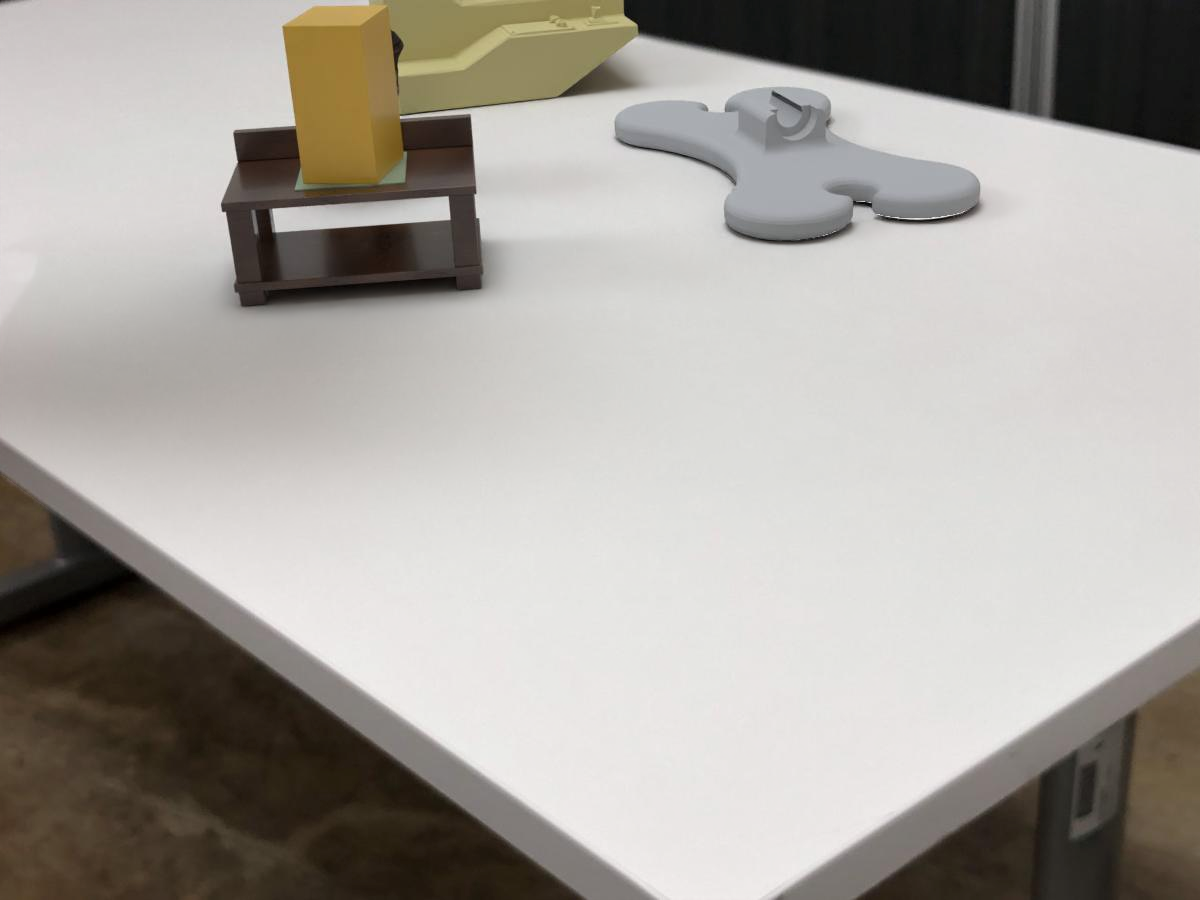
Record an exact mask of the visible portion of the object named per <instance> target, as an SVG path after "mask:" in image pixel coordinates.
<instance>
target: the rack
mask: <svg viewBox="0 0 1200 900" xmlns="http://www.w3.org/2000/svg"><path fill="white" fill-rule="evenodd" d="M400 123H401V133H402V143H403V152H404V157H403V158H402V159H401V161H400V162H399V163H398V164H397V165H396V166H395V167H394V168H393V169H392V170H391V171H390V172H389V173H388V174H387V175H386V176H385V177H384V178H383V179H382V180H381V181H380V182H379V183H378V184H314V183H303V177H302V169H301V162H300V154H299V147H298V140H297V132H296V125H288V126H287V125H286V126H273V127H272V126H271V127H257V128H243V129H242V128H241V129H234V130H233V132H232V134H233V142H234V148H235V153H236V154H235V155H236V161H237V163H236V165H235V166H234V167H235V168H234V170H233V173H232V175H231V178H230V180H229V183H228V185H227V188H226V190H225V192H224V195H223V197H222V200H221V202H220V209H221V212H222V213H225V215H226V223H227V228H228V234H229V240H230V247H231V254H232V260H233V266H234V272H235V280H234V283H233V289H234V293H235V294H238V297H239V304H240V306H241V307H245V306H256V305H265V304H266V302H267V299H268V298H267V297H268V291H278V290H290V289H291V290H292V289H293V290H295V289H306V288H307V289H308V288H321V287H332V286H347V285H358V284H359V285H361V284H372V283H386V282H387V283H388V282H401V281H414V280H426V279H427V280H428V279H429V280H430V279H440V278H453V277H454V278H455V283H456V290H457V291H458V290H473V289H482V276H481V275H484V263H483V262H484V261H483V249H482V235H481V233H482V232H481V222H480V218H479V217H477V208H476V197H475V195H477V194H478V193H477V192H478V191H477V179H476V178H477V177H476V165H475V164H476V163H475V148H474V136H473V127H472V126H473V125H472V115H471V114H470V113H463V114H449V115H436V116H435V115H434V116H422V117H421V116H420V117H418V116H417V117H406V118H405V117H403V118H400ZM442 197H443V198H444V197H448V208H449V217H450V219H444V220H443V219H442V220H429V221H417V222H416V221H415V222H414V221H413V222H402V223H401V222H399V223H390V224H389V223H386V224H376V225H375V224H374V225H373V224H372V225H359V226H347V227H345V226H343V227H332V228H317V229H304V230H290V231H276V226H275V218H274V212H273V210H275V209H287V208H302V207H315V206H332V205H346V204H359V203H373V202H386V201H401V200H414V199H415V200H416V199H428V198H442Z"/></svg>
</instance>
